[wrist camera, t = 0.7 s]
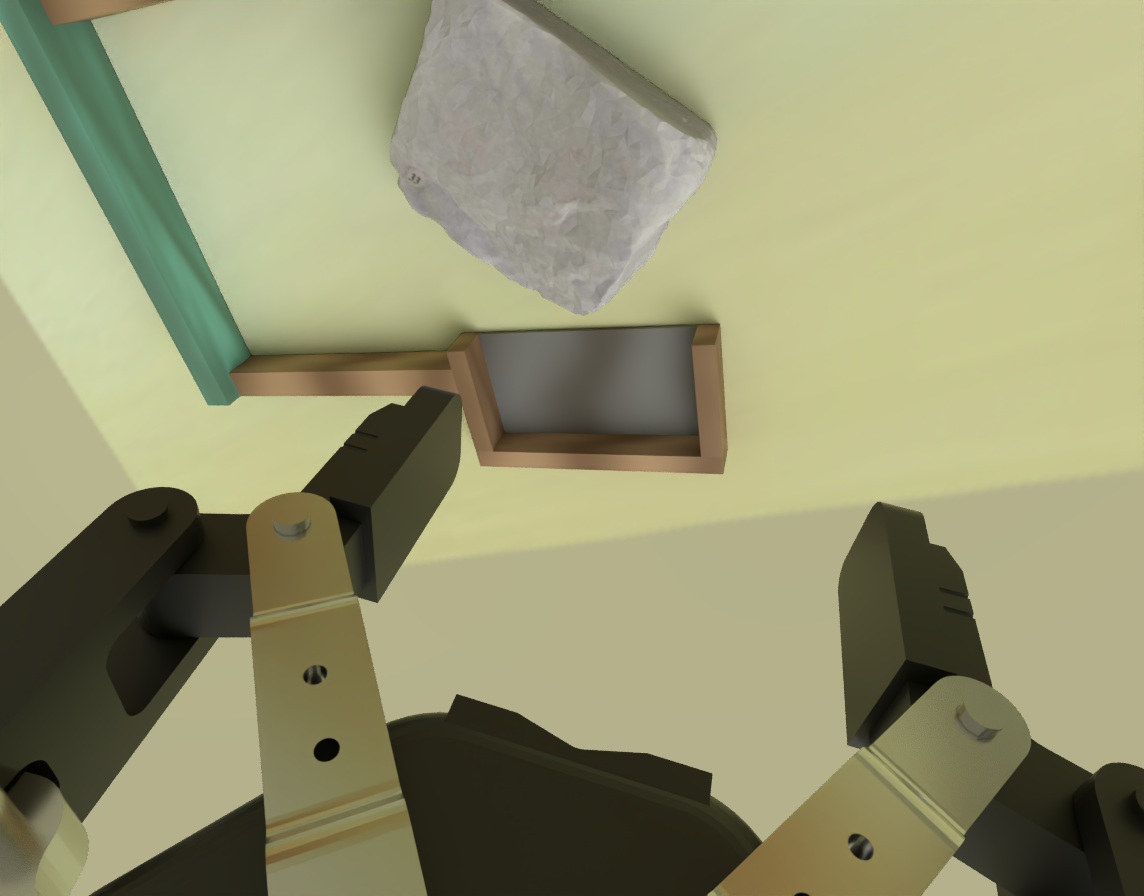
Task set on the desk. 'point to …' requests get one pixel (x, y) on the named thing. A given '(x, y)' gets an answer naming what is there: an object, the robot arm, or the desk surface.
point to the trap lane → (469, 367)
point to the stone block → (543, 150)
